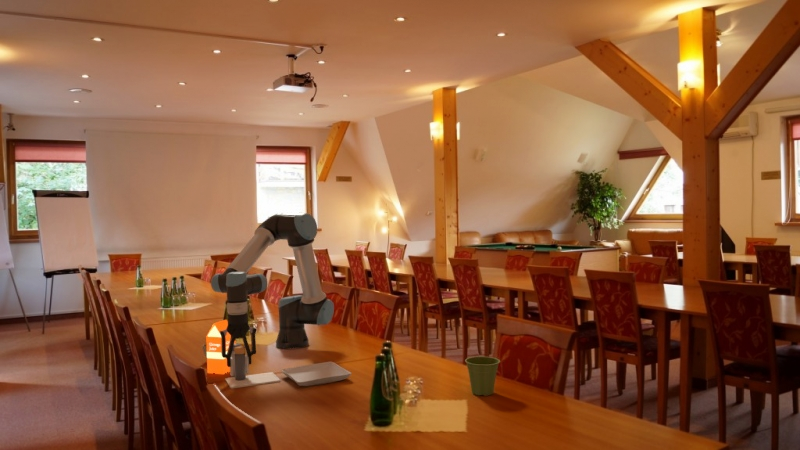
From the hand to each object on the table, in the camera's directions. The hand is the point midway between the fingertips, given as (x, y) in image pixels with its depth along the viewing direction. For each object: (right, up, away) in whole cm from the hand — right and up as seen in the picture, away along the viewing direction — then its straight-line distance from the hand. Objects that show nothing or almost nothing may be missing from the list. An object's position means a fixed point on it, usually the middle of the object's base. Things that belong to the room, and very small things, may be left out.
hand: (239, 374), depth 237 cm
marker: (+1, -2, -1) cm, 2 cm away
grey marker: (-3, -2, +6) cm, 7 cm away
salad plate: (+29, -2, -1) cm, 29 cm away
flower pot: (-18, -2, +30) cm, 35 cm away
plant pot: (+89, -1, -24) cm, 92 cm away
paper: (+5, -2, -2) cm, 6 cm away
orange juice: (-11, -2, +14) cm, 18 cm away
